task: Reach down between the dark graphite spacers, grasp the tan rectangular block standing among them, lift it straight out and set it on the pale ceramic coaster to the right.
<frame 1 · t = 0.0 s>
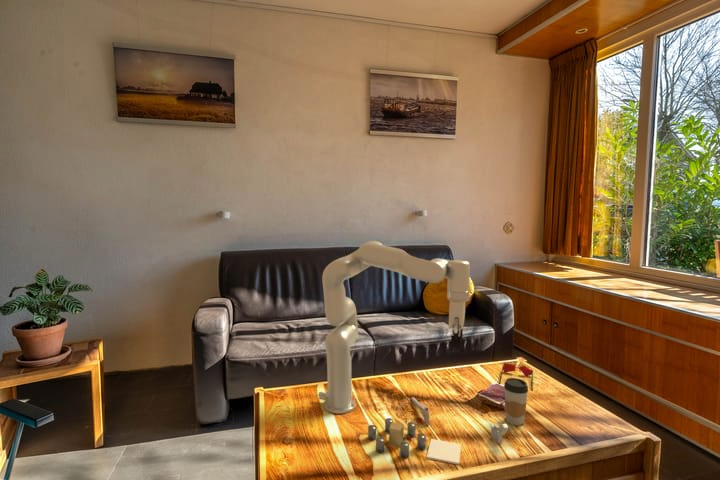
hand: (456, 342, 141), 31 cm above the table, fingers open, 9 cm apart
caliper: (419, 412, 154), on the table
lighter: (498, 443, 134), on the table
coaster: (444, 452, 128), on the table
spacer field: (396, 442, 133), on the table
coffee cup: (514, 421, 147), on the table
glasses: (516, 381, 181), on the table
tan rectangular block: (396, 443, 133), on the table
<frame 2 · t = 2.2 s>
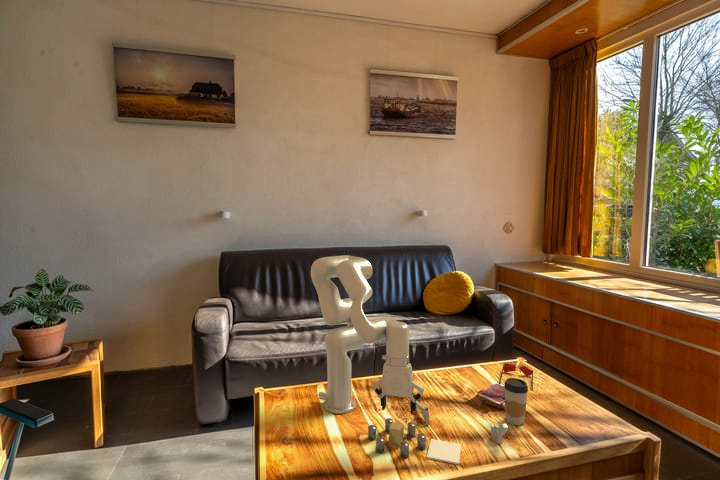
hand: (398, 410, 132), 12 cm above the table, fingers open, 9 cm apart
nothing on the table moved.
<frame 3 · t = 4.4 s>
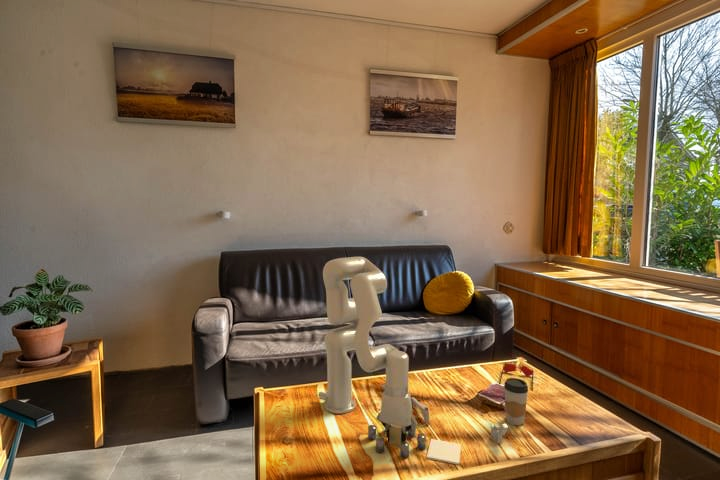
hand: (396, 440, 133), 1 cm above the table, fingers closed on tan rectangular block, 4 cm apart
tan rectangular block: (396, 442, 134), on the table, touching gripper
everything else where it was.
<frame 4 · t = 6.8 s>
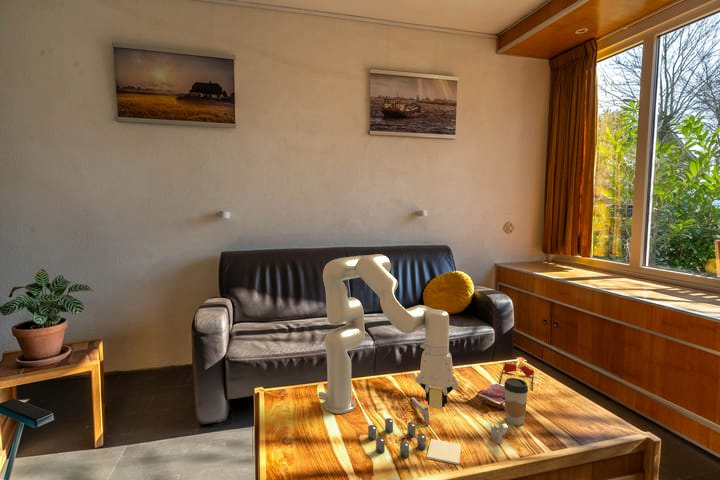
hand: (436, 403, 128), 16 cm above the table, fingers closed on tan rectangular block, 4 cm apart
tan rectangular block: (436, 405, 128), point 15 cm above the table, touching gripper
everything else where it was.
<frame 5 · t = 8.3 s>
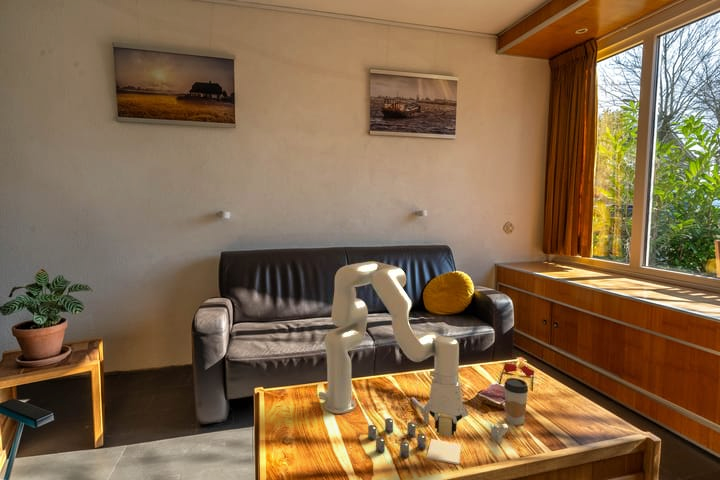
hand: (445, 431, 128), 7 cm above the table, fingers closed on tan rectangular block, 4 cm apart
tan rectangular block: (445, 433, 128), point 7 cm above the table, touching gripper
everything else where it was.
when the fingers open (3 cm above the table, at t = 9.7 s): tan rectangular block drops 1 cm, resting on coaster.
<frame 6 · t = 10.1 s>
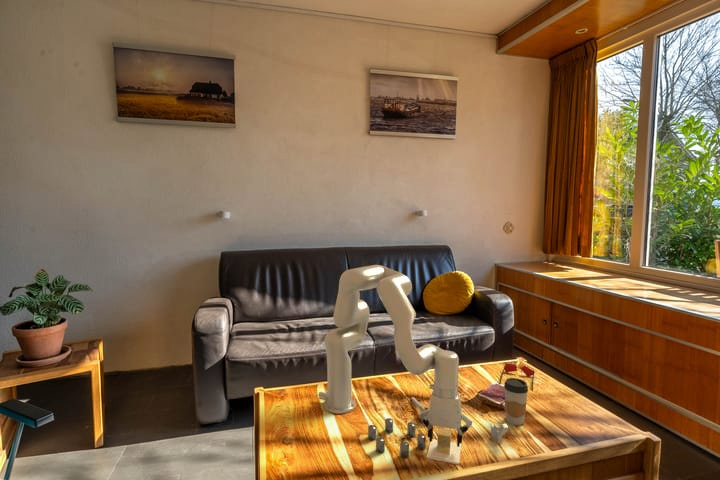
hand: (444, 441, 128), 4 cm above the table, fingers open, 8 cm apart
tan rectangular block: (444, 449, 129), point 1 cm above the table, touching coaster
everything else where it was.
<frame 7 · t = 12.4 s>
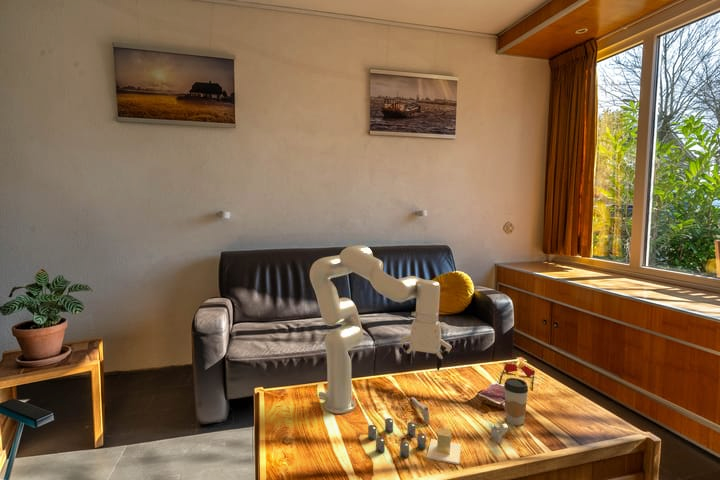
hand: (424, 366, 134), 26 cm above the table, fingers open, 9 cm apart
nothing on the table moved.
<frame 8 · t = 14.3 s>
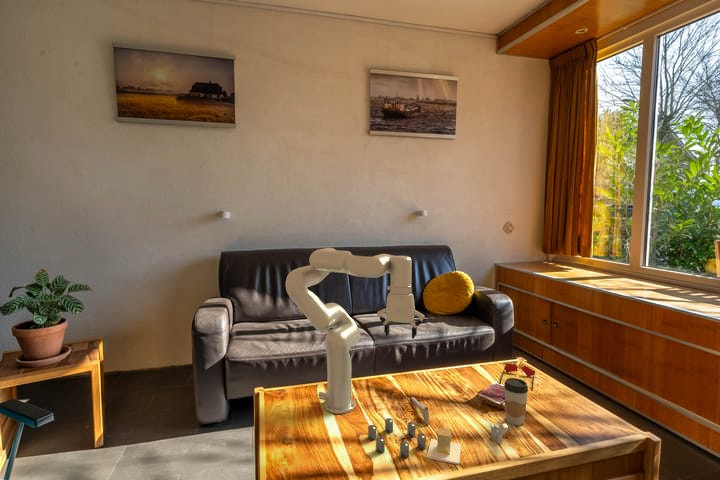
hand: (400, 336, 144), 32 cm above the table, fingers open, 9 cm apart
nothing on the table moved.
at the end: tan rectangular block inside the target area on the coaster (0.2 cm from its centre), point 0.6 cm above the coaster's base; tan rectangular block moved 15.9 cm from its start; the gripper is holding nothing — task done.
